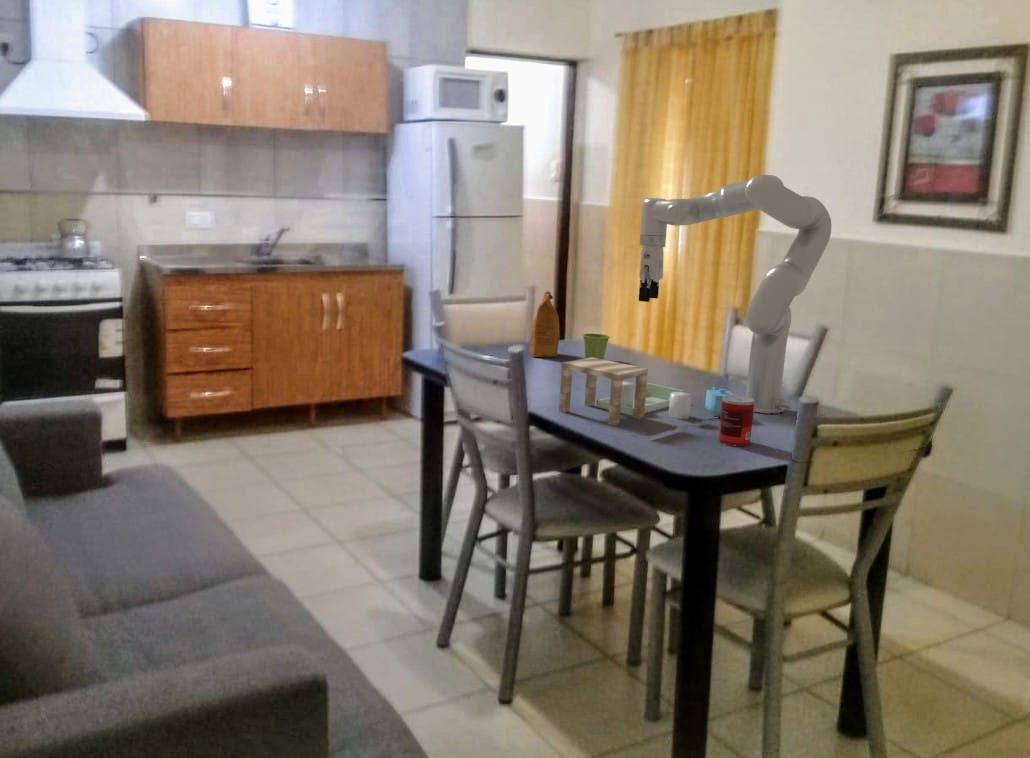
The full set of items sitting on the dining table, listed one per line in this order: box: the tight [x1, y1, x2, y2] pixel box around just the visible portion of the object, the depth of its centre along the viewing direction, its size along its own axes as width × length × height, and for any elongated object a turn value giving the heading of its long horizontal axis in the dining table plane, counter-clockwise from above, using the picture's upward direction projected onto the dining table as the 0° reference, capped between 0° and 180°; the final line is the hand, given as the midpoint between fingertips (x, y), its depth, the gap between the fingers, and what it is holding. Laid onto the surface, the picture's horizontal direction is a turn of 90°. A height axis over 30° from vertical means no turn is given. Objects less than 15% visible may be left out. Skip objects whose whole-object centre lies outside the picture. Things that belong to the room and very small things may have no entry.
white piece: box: [668, 392, 692, 420], centre depth 258 cm, size 5×5×7 cm
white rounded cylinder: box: [621, 381, 636, 408], centre depth 263 cm, size 5×5×7 cm
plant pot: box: [581, 332, 611, 360], centre depth 335 cm, size 9×9×9 cm
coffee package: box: [529, 290, 561, 358], centre depth 337 cm, size 10×12×22 cm
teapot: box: [704, 386, 736, 418], centre depth 266 cm, size 12×6×8 cm, turn 10°
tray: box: [595, 382, 685, 417], centre depth 269 cm, size 12×24×4 cm, turn 139°
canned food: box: [718, 394, 755, 447], centre depth 238 cm, size 8×8×11 cm
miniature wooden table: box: [558, 357, 649, 427], centre depth 255 cm, size 18×13×14 cm
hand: (648, 299), depth 288 cm, fingers open, 9 cm apart
